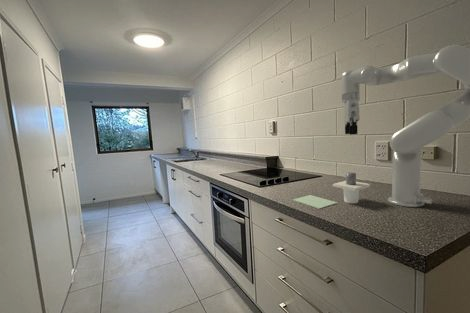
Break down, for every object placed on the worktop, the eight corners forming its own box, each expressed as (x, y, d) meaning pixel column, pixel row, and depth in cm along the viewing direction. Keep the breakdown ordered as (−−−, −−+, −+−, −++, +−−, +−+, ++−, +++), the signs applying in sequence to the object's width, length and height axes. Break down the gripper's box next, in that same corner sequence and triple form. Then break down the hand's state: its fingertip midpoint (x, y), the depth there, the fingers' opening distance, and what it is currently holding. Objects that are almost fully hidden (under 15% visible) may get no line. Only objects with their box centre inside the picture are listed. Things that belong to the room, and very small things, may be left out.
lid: (370, 186, 99) (370, 173, 98) (354, 191, 94) (354, 176, 93) (347, 182, 108) (347, 170, 108) (332, 186, 103) (332, 173, 103)
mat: (337, 203, 100) (337, 202, 100) (318, 209, 95) (318, 208, 95) (310, 195, 114) (310, 194, 114) (292, 200, 109) (292, 199, 109)
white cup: (345, 198, 107) (344, 184, 106) (361, 200, 102) (360, 185, 102) (341, 202, 101) (341, 187, 101) (358, 204, 97) (357, 189, 96)
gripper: (364, 94, 96) (365, 134, 97) (354, 99, 112) (355, 133, 114) (345, 96, 98) (346, 135, 99) (338, 101, 114) (339, 134, 116)
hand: (350, 134), depth 107 cm, fingers open, 9 cm apart
